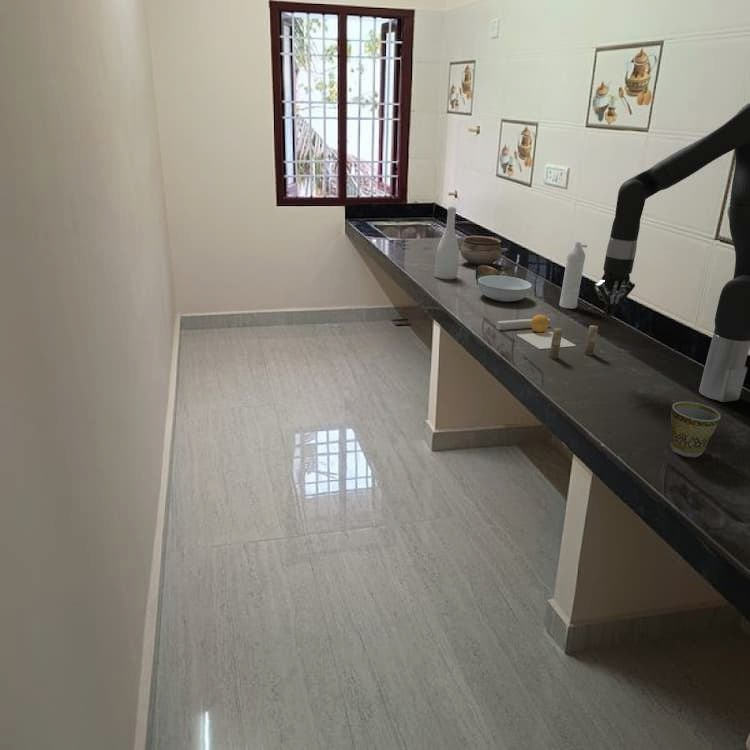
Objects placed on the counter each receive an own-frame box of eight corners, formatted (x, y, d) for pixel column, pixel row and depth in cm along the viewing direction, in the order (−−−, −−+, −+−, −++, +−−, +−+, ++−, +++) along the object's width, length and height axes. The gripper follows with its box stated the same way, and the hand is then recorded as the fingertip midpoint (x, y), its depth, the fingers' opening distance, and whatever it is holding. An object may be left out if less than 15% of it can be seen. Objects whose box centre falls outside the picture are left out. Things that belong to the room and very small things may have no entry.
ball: (550, 334, 227) (553, 318, 224) (534, 336, 225) (538, 319, 222) (541, 327, 232) (544, 311, 229) (526, 328, 230) (529, 312, 227)
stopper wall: (548, 326, 235) (550, 319, 234) (499, 330, 228) (500, 323, 227) (545, 324, 236) (546, 317, 236) (496, 328, 230) (497, 321, 229)
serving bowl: (505, 309, 252) (508, 291, 249) (465, 295, 267) (466, 278, 264) (540, 301, 264) (542, 284, 262) (499, 289, 279) (501, 272, 277)
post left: (559, 358, 205) (564, 330, 202) (552, 359, 204) (557, 330, 201) (554, 355, 207) (559, 327, 204) (547, 356, 207) (552, 328, 203)
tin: (473, 282, 288) (476, 262, 284) (480, 281, 289) (482, 262, 286) (493, 291, 275) (496, 271, 272) (500, 291, 276) (502, 270, 273)
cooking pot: (502, 262, 327) (505, 237, 322) (508, 271, 309) (511, 245, 305) (451, 259, 327) (453, 234, 323) (454, 268, 310) (456, 241, 305)
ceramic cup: (694, 465, 147) (705, 424, 143) (653, 446, 154) (663, 407, 150) (725, 450, 154) (736, 411, 150) (684, 433, 161) (694, 395, 158)
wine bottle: (434, 274, 297) (440, 204, 286) (455, 275, 297) (462, 206, 286) (435, 279, 289) (441, 208, 277) (457, 280, 288) (464, 209, 277)
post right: (594, 354, 210) (600, 327, 206) (588, 355, 209) (593, 328, 205) (589, 352, 212) (594, 324, 208) (582, 352, 211) (587, 325, 208)
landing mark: (576, 346, 217) (576, 345, 216) (539, 349, 212) (539, 348, 212) (551, 332, 229) (551, 331, 228) (516, 335, 224) (516, 334, 224)
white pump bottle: (556, 304, 262) (566, 240, 252) (571, 304, 263) (582, 240, 254) (566, 310, 254) (577, 244, 244) (582, 310, 255) (593, 245, 246)
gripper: (609, 258, 178) (597, 321, 185) (649, 257, 183) (636, 318, 190) (591, 252, 185) (581, 313, 191) (630, 251, 189) (618, 310, 196)
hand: (608, 315), depth 190 cm, fingers closed
